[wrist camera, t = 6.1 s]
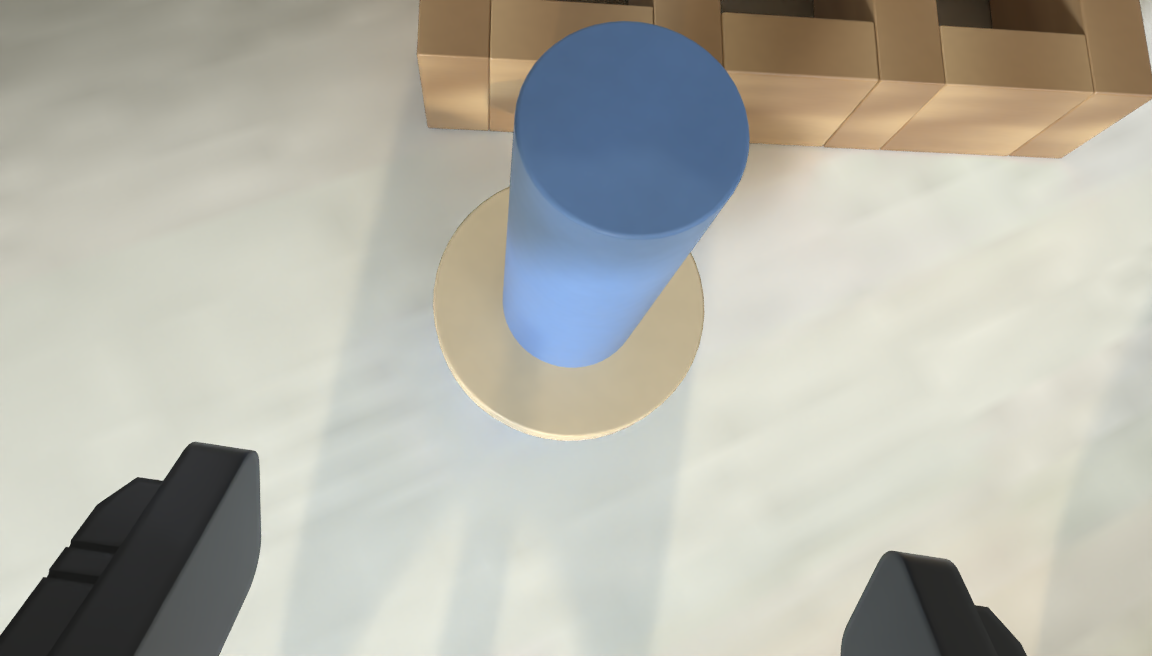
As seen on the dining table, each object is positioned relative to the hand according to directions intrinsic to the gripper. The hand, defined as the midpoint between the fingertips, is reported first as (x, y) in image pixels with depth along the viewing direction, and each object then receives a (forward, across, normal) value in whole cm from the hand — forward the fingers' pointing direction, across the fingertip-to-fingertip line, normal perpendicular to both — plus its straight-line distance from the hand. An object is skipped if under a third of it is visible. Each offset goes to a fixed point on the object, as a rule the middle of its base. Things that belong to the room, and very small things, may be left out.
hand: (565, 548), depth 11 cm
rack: (+20, -4, -3) cm, 21 cm away
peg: (+12, 0, +5) cm, 13 cm away
